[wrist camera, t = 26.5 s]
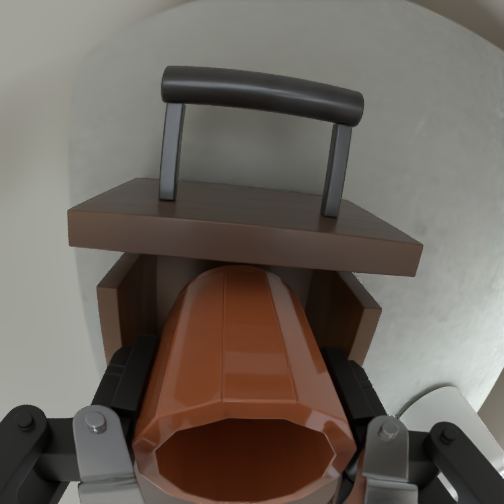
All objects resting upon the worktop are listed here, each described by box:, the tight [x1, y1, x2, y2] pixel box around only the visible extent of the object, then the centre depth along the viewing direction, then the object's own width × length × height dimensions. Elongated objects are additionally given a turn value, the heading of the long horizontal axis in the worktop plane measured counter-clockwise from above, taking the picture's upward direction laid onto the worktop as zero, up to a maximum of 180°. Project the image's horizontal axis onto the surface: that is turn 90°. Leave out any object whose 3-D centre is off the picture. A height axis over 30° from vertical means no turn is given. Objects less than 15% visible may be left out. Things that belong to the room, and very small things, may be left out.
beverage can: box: [399, 386, 504, 501], centre depth 20 cm, size 8×8×12 cm
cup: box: [131, 265, 357, 504], centre depth 10 cm, size 6×6×7 cm
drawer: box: [67, 66, 423, 367], centre depth 14 cm, size 20×12×8 cm, turn 173°
